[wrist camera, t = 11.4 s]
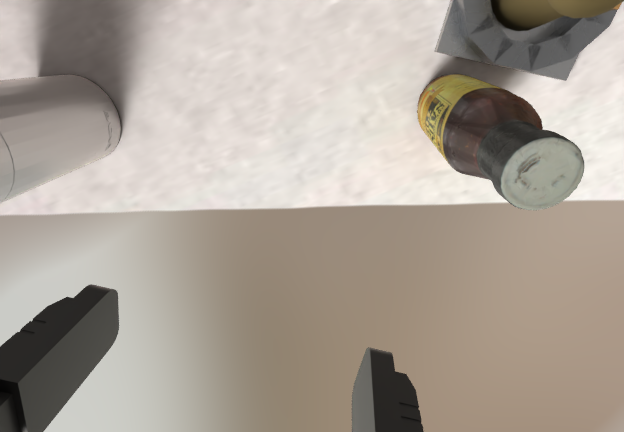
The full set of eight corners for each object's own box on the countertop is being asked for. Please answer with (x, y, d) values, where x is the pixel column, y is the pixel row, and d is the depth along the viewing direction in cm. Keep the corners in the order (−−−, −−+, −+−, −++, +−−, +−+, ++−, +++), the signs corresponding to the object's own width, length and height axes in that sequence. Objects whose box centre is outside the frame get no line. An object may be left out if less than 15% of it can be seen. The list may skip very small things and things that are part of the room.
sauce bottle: (406, 88, 36) (459, 129, 18) (472, 61, 34) (601, 77, 16) (425, 149, 38) (489, 240, 20) (487, 127, 37) (616, 204, 19)
